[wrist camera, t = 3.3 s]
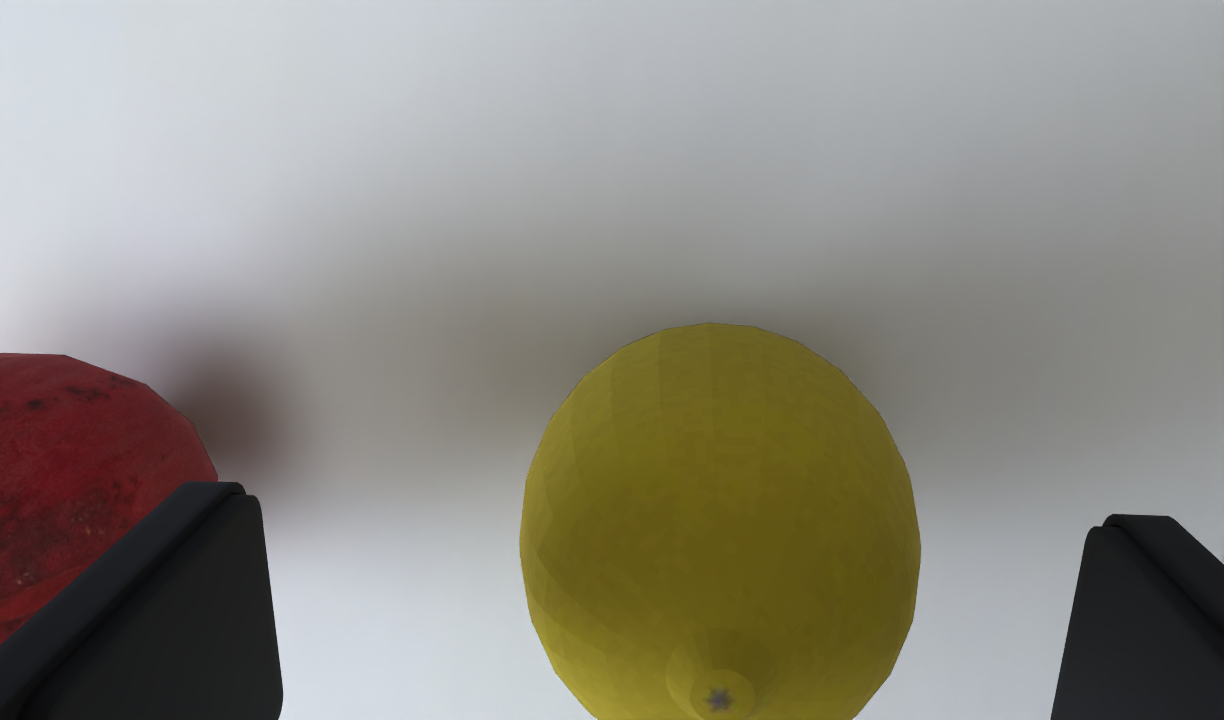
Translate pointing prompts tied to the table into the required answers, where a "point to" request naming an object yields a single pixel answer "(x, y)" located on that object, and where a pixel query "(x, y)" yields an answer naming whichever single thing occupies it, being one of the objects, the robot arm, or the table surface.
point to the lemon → (719, 534)
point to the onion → (78, 471)
